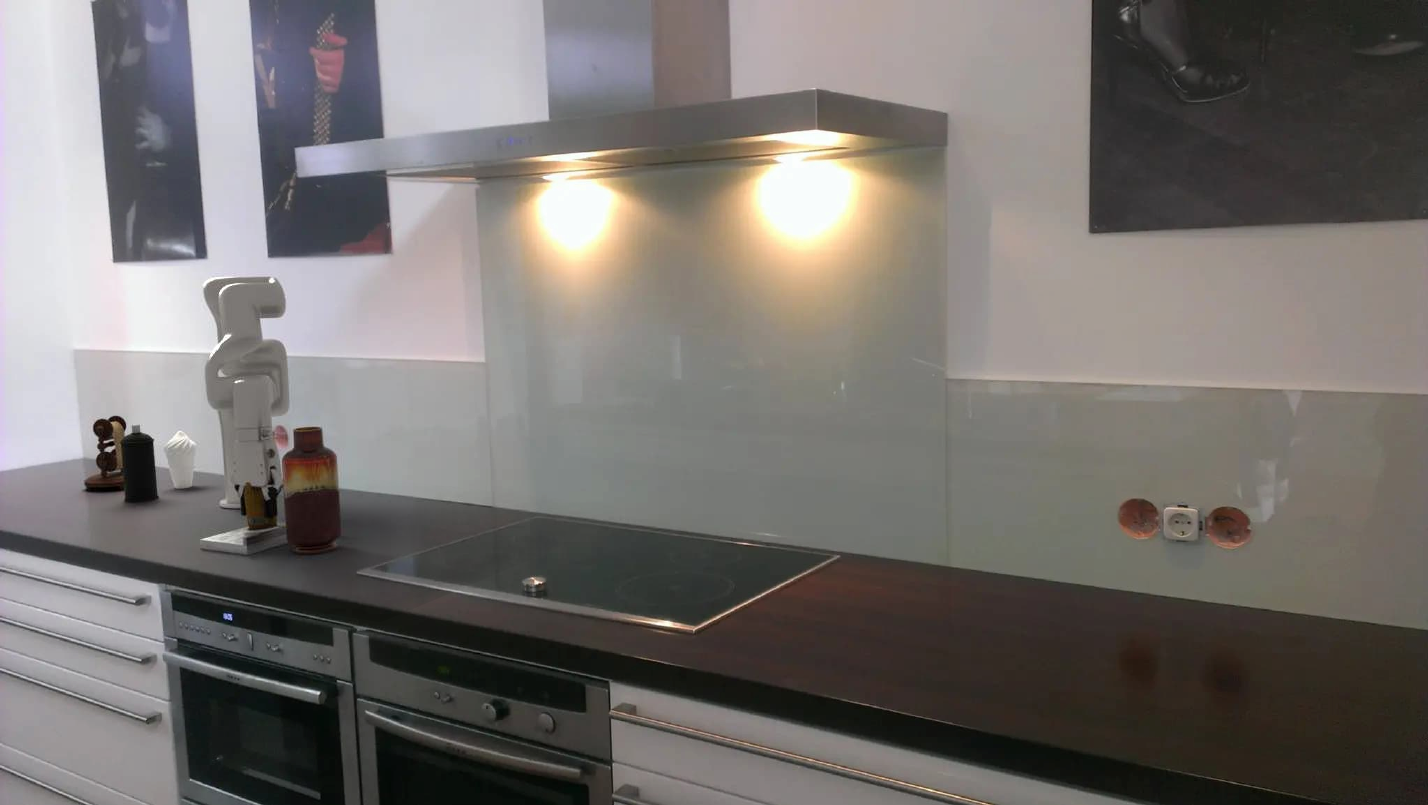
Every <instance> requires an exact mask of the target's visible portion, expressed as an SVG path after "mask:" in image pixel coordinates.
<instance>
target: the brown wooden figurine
mask: <svg viewBox="0 0 1428 805" xmlns="http://www.w3.org/2000/svg"><path fill="white" fill-rule="evenodd" d="M126 430H127V422H126V420H125V419H124V418H123V417H121V416H120V415H112V416H110V417H109V418H108V419H107V418H99V419H97V420H96V421H94V422H93V425H92V432H93V434H94V435H95V436H96V437H97V438H98V439H97V441H98V443H97V445H96V447H97V450H98V452H100V453H98V454H97V456H96V458H95V463H96V466H97V468H98V469H99V470H101V471H100V473H97V474H93V475H91V476H89V477H88V478H87V479H85V480H83V482H84V483H83V485H84V486H85V489H86V490H87V491H91V488H111V487H119V489H120V490H121V491H124V479H123V467H122V454H121V444H120V443H119V442H120V441H121V440H122V439H123V438H124V437H125V436H126V434H125V431H126ZM110 447H111V448H113V447H114V448H113V449H112V450H110V452H109V451H107V450H106V449H108V448H110Z"/></svg>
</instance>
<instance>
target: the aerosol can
mask: <svg viewBox="0 0 1428 805" xmlns="http://www.w3.org/2000/svg"><path fill="white" fill-rule="evenodd" d="M154 441H155V438H152V436H151V435H149V434H147V433H143V432H141V424H138V423H137V424H132V425H131V432H130V433H129V434H125V437H124V438H123V439H122V440H121V441H120V442H119V443H120V444H121V454H122V467H123V479H124V490H123V492H124V499H123V501H124V502H125V503H143V502H144V503H145V502H149V501H150V500H151V501H154V500H157V499H159V497H160V496H159V494H158V485H157V483H158V482H157V473H156V472H157V469H156V458H155V446H154Z"/></svg>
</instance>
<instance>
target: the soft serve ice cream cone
mask: <svg viewBox="0 0 1428 805" xmlns="http://www.w3.org/2000/svg"><path fill="white" fill-rule="evenodd" d="M197 447H198V446H197V443H196V442H195V441H193V440H191V439H190V438H189V436H188V435H187V434H186V433H185V432H183V431H182V430H179V431H177V432H176V433H175V434H174V436H173V437H172V438H171V439H170V440H169V441H168V442H166V443H165V445H164V446H163V452H164V454H165V455H166V459H167V465H168V471H169V473H170V477H171V480H172V483H173V486H174V489H178V490H179V489H189V488H191V487H192V485H193V478H194V471H195V468H196V467H195V457H196V451H197V449H198V448H197Z"/></svg>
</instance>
